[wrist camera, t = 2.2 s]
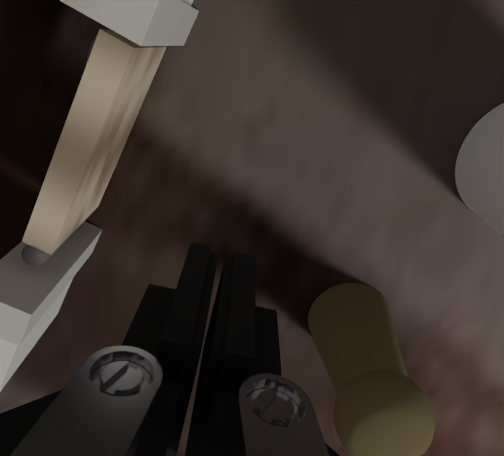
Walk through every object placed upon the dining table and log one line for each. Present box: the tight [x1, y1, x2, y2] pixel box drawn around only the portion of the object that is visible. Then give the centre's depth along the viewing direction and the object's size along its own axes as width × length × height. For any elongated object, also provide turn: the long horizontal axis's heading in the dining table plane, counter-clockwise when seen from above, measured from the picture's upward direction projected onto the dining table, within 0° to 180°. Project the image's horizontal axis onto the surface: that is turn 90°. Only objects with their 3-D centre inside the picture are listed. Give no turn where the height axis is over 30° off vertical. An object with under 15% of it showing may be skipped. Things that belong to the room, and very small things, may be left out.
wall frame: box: [0, 0, 199, 391], centre depth 22 cm, size 31×3×10 cm, turn 152°
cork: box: [308, 283, 435, 456], centre depth 27 cm, size 6×6×11 cm
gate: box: [21, 29, 166, 267], centre depth 23 cm, size 12×2×7 cm, turn 152°
